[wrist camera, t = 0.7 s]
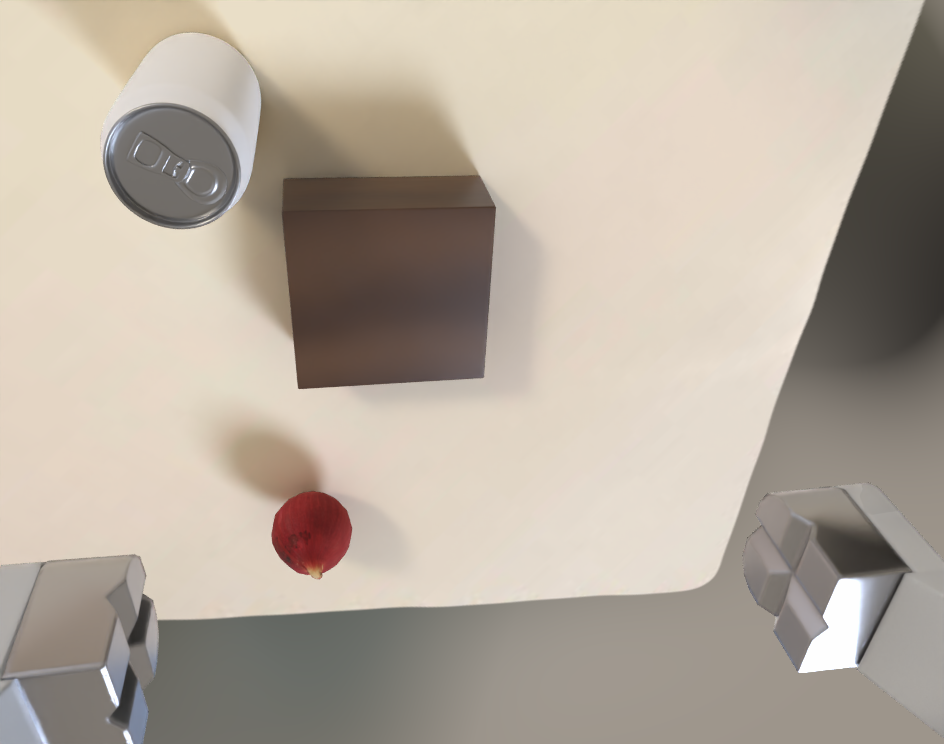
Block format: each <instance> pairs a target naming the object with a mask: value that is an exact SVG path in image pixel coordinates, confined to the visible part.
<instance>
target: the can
mask: <svg viewBox="0 0 944 744" xmlns="http://www.w3.org/2000/svg"><path fill="white" fill-rule="evenodd" d="M260 111H261V92H260V87H259V83H258V80H257V77H256V75H255V73H254V71H253V69H252V67H251V66H250V64H249V63H248V62H247V60H246V59H245V58H244V57H243V56H242V55H241V54H240V53H239V52H238V51H237V50H236V49H235V48H234V47H232V46H231V45H229V44H228V43H226V42H225V41H223V40H221V39H219V38H216V37H214V36H211V35H207V34H202V33H192V32H191V33H180V34H176V35H173V36H170V37H168V38H166V39H164V40H162V41H160V42H159V43H158V44H156V45H155V46H154V47H153V48H152V49H151V50H150V51H149V52H148V54H147V55H146V56H145V58H144V59H143V60H142V62H141V63H140V65H139V66H138V68H137V69H136V71H135V72H134V74H133V75H132V76H131V78H130V79H129V81H128V82H127V84H126V85H125V87H124V88H123V90H122V91H121V93H120V95H119V96H118V98H117V99H116V101H115V102H114V104H113V105H112V107H111V109H110V111H109V113H108V114H107V116H106V119H105V121H104V124H103V128H102V133H101V155H102V160H103V165H104V170H105V174H106V177H107V180H108V182H109V184H110V186H111V188H112V190H113V192H114V193H115V195H116V196H117V197H118V199H119V200H120V201H121V202H122V203H123V204H124V205H125V206H126V207H127V208H128V209H129V210H130V211H132V212H133V213H134V214H136V215H137V216H139V217H140V218H142V219H144V220H146V221H148V222H150V223H153V224H155V225H158V226H162V227H166V228H172V229H191V228H197V227H201V226H204V225H206V224H209V223H211V222H213V221H215V220H216V219H218V218H219V217H221V216H222V215H223V214H224V213H225V212H226V211H228V210H229V209H230V208H232V207H233V206H234V205H235V204H236V203H237V202H238V200H239V199H240V198H241V196H242V195H243V193H244V192H245V190H246V188H247V185H248V183H249V180H250V177H251V173H252V168H253V162H254V155H255V149H256V141H257V134H258V127H259V119H260Z"/></svg>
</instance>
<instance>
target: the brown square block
mask: <svg viewBox="0 0 944 744" xmlns="http://www.w3.org/2000/svg"><path fill="white" fill-rule="evenodd" d="M495 213H496V207H495V205H494V203H493V201H492V199H491V197H490V195H489V193H488V191H487V189H486V187H485V185H484V183H483V181H482V179H481V177H480V176H431V177H367V178H303V179H284V181H283V200H282V220H283V231H284V241H285V252H286V263H287V274H288V285H289V296H290V307H291V317H292V328H293V339H294V350H295V361H296V372H297V383H298V388H299V389H307V388H324V387H340V386H357V385H374V384H390V383H407V382H423V381H440V380H456V379H473V378H483V377H484V368H485V354H486V340H487V326H488V312H489V298H490V283H491V269H492V255H493V241H494V227H495Z"/></svg>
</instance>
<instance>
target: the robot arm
mask: <svg viewBox="0 0 944 744" xmlns="http://www.w3.org/2000/svg"><path fill="white" fill-rule="evenodd" d="M755 515H756V517H757V518H758V520H759V521H760V523H761V526H760V527H759V528H757V529H756V530H755V531H754V532H753V533H752V534H751V535H750V536H749V537H747V541H746V545H745V548H744V551H743V555H742V556H743V569H744V576H745V579H746V582H747V585H748V588H749V590H750V592H751V594H752V596H753V597H754V599H755V601H756V602H757V604H758V605H759V606H761V607H762V608H764V609H765V610H767V611H768V612H770V613H771V614H773V615H774V616H776V619H775V625H774V633H775V635H776V636H777V638H778V640H779V641H780V643H781V645H782V646H783V648H784V650H785V651H786V653H787V655H788V656H789V658H790V660H791V661H792V663H793V665H794V666H795V668H796V670H797V671H798V673H801V672H811V671H820V670H829V669H839V668H847V667H857V666H858V668H857V670H858V671H859V672H860V673H861V674H863V675H864V676H865V677H866V678H868V679H869V680H870V681H872V682H873V683H874V684H875V685H877V686H878V687H879V688H880V689H882V690H883V691H884V692H886V693H887V694H888V695H889V696H891V697H892V698H893V699H894V700H896V701H897V702H898V703H899V704H901V705H902V706H903V707H905V708H906V709H907V710H908V711H910V712H911V713H912V714H913V715H915V716H916V717H917V718H919V719H920V720H921V721H922V722H924V723H925V724H926V725H928V726H929V727H930V728H931V729H933V730H934V731H935V732H936V733H938V734H939V735H940V736H942V737H943V738H944V560H943V559H942V558H941V556H940V555H939V554H938V553H937V552H936V551H935V550H934V549H933V547H932V546H931V545H930V544H929V543H928V542H927V541H926V540H925V539H924V538H923V536H922V535H921V534H920V533H919V532H918V531H917V530H916V528H915V527H914V526H913V525H912V524H911V523H910V522H909V521H908V520H907V518H906V517H905V516H904V515H903V514H902V513H901V512H900V510H899V509H898V508H897V507H896V506H895V505H894V504H893V503H892V501H891V500H890V499H889V498H888V497H887V496H886V495H885V494H884V492H883V491H882V490H881V489H880V488H878V487H877V486H875V485H873V484H871V483H869V482H868V483H860V484H849V485H840V486H834V487H822V488H811V489H802V490H792V491H784V492H774V493H767V494H766V495H765V496H764V497H763V498H762V499H761V500H760V502H759V505H758V507H757V510H756V513H755ZM145 579H146V573H145V570H144V567H143V564H142V561H141V557H140V556H137V555H135V554H134V555H121V556H107V557H93V558H79V559H66V560H52V561H47V562H36V563H22V564H8V565H1V566H0V744H143V739H144V734H145V728H146V723H147V717H148V712H149V711H148V708H147V705H146V702H145V698H144V694H143V690H144V689H145V687H146V686H147V685H148V684H149V683H150V682H151V681H152V680H153V679H154V677H155V671H156V665H157V659H158V636H159V631H158V622H157V614H156V610H155V606H154V602H153V600H152V599H150V598H149V597H147V596H146V595H144V594H143V589H144V584H145Z"/></svg>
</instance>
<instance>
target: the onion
mask: <svg viewBox="0 0 944 744" xmlns="http://www.w3.org/2000/svg"><path fill="white" fill-rule="evenodd" d="M351 534H352V526H351V522H350V519H349V516H348V513H347V510H346V509H345V508H344V507H343V506H342V505H341V504H340V503H339V501H337V500H336V499H335V498H333V497H331V496H329V495H327V494H325V493H321V492H315V491H310V492H304V493H301V494H299V495H297V496H295V497H293V498H291V499H289V500H288V501H287V502H286V503H285V504H284V505H283V506H282V507H281V508H280V510H279V511H278V512H277V513H276V514H275V519H274V523H273V529H272V543H273V546H274V548H275V550H276V552H277V554H278V555H279V557H280V558H281V560H283V561H284V562H285V563H286V564H287V565H288V566H289V567H291V568H292V569H293V570H294V571H296V572H298V573H300V574H305V575H311V576H312V577H313V578H315V579H321V578H322V573H324V572H326V571H328V570H330V569H331V568H333V567H334V566H335V565H337V564H338V562H339V561H340V560H341V559H342V557H343V556H344V555H345V553H346V552H347V550H348V548H349V544H350V539H351Z"/></svg>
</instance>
